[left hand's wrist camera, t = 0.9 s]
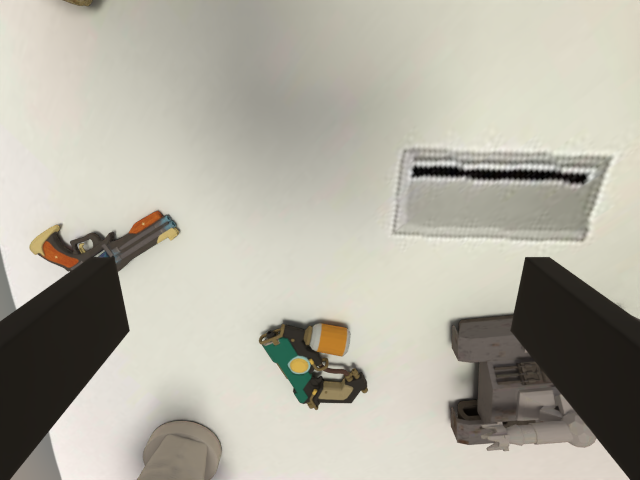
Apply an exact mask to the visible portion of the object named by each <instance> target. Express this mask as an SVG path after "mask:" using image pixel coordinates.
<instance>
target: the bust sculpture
mask: <svg viewBox="0 0 640 480" xmlns="http://www.w3.org/2000/svg"><path fill="white" fill-rule="evenodd" d="M220 457H221V445H220V442H219V440H218V439H217V437H216V436H215V435H214V434H213V433H212V432H211V431H210V430H209V429H207V428H206V427H204V426H202V425H200V424H197V423H194V422H189V421H173V422H169V423H166V424H163V425H161V426H160V427H158V428H157V429H156V430H155V431H154V432H153V433H152V435H151V437H150V439H149V441H148V443H147V445H146V447H145V449H144V453H143V461H144V464H145V467H144V469H143V471H142V472H141V474H140V476H139V477H138V479H137V480H210V479H211V478H212V477H213V476H214V474H215V473H216V471H217V468H218V464H219V460H220Z"/></svg>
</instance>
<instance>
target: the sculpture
mask: <svg viewBox="0 0 640 480" xmlns="http://www.w3.org/2000/svg"><path fill="white" fill-rule="evenodd" d="M64 1H66V2H69V3H72V4H75V5H79V6H84V5H85V6H89V5H90V4H91V2H92V1H93V0H64Z"/></svg>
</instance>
